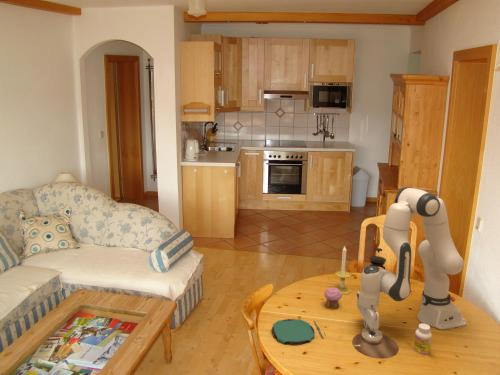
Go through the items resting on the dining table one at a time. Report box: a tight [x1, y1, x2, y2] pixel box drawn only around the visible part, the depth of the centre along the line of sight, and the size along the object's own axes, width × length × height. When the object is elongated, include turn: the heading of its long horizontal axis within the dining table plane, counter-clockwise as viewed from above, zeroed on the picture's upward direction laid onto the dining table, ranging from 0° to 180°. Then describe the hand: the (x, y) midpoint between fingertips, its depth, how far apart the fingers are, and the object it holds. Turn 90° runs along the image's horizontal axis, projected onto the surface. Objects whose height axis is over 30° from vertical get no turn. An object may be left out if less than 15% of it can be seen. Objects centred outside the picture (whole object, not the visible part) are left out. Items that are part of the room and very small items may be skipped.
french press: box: [368, 247, 387, 270], centre depth 257 cm, size 12×9×23 cm
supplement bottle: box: [413, 323, 433, 356], centre depth 197 cm, size 7×7×13 cm
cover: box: [361, 327, 384, 345], centre depth 206 cm, size 9×9×3 cm
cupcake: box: [324, 286, 343, 309], centre depth 237 cm, size 9×9×10 cm
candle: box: [334, 245, 352, 295], centre depth 252 cm, size 10×10×27 cm
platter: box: [351, 332, 400, 360], centre depth 202 cm, size 20×20×1 cm
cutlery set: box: [271, 318, 327, 344], centre depth 213 cm, size 20×30×2 cm, turn 98°
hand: (366, 327), depth 212 cm, fingers closed
